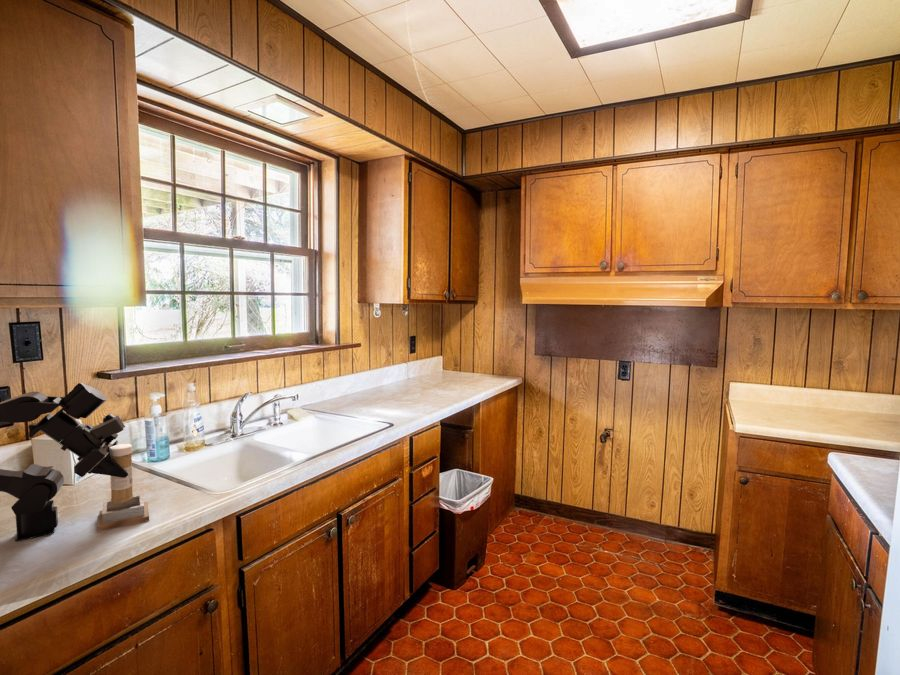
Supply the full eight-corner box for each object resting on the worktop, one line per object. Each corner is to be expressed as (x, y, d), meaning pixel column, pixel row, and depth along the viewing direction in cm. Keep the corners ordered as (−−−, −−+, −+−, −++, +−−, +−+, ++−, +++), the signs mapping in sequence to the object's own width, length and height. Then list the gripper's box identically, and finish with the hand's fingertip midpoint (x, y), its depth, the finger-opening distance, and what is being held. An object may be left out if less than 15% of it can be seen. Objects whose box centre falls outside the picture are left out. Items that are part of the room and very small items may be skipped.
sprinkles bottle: (117, 496, 117) (116, 443, 116) (137, 496, 118) (135, 443, 117) (106, 504, 113) (104, 448, 112) (126, 503, 113) (125, 448, 112)
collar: (102, 524, 110) (102, 514, 110) (103, 511, 117) (103, 501, 117) (144, 515, 115) (144, 505, 115) (143, 503, 121) (143, 494, 121)
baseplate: (97, 531, 109) (97, 527, 109) (99, 514, 117) (99, 510, 117) (149, 520, 115) (149, 516, 114) (147, 505, 123) (147, 501, 123)
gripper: (90, 415, 104) (151, 458, 109) (106, 399, 120) (158, 437, 126) (46, 455, 101) (110, 497, 106) (68, 433, 117) (123, 470, 123)
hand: (128, 472), depth 116 cm, fingers closed on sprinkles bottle, 4 cm apart
